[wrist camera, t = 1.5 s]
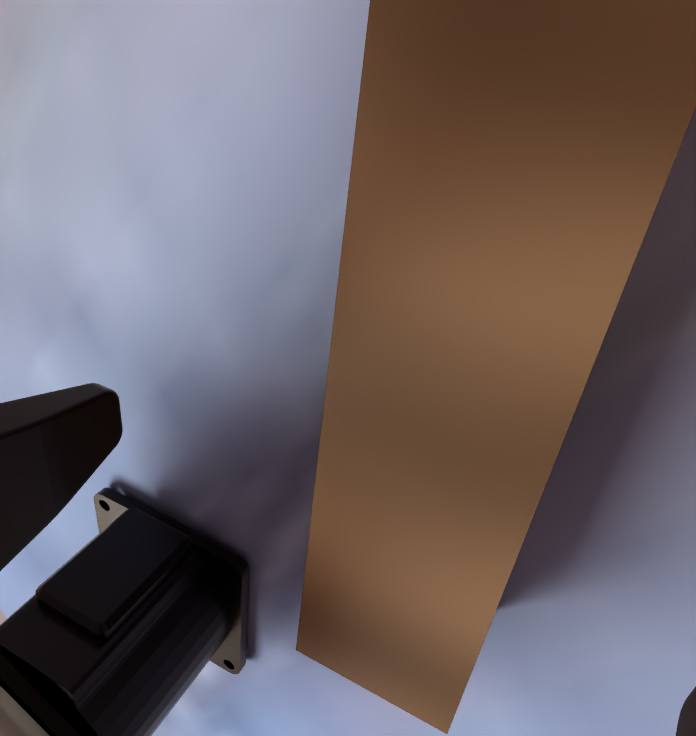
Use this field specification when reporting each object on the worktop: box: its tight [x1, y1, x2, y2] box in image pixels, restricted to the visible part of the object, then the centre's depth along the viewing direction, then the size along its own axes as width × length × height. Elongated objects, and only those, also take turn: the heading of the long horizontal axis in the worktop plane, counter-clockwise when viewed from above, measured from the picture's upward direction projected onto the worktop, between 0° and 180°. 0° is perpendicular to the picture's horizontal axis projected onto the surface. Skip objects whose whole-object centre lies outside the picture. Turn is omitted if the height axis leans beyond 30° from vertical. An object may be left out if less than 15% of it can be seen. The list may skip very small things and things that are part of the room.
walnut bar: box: [296, 0, 696, 734], centre depth 12 cm, size 16×4×4 cm, turn 173°
